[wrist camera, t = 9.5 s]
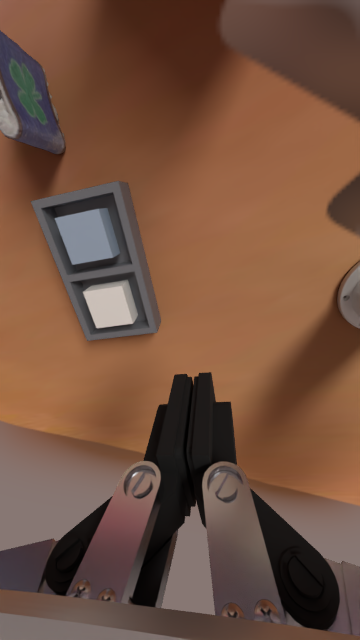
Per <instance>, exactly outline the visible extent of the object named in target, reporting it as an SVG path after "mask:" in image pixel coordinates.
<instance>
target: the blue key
mask: <svg viewBox="0 0 360 640" xmlns="http://www.w3.org/2000/svg"><path fill="white" fill-rule="evenodd" d="M55 220H56V223H57V226H58V228H59V231H60V234H61V236H62V239H63V242H64V244H65V247H66V249H67V252H68V255H69V257H70V260H71V263H72V265H74V264H80V263H85V262H91V261H97V260H102V259H108V258H113V257H115V256H117V255H118V254H120V251H119V247H118V244H117V240H116V237H115V233H114V230H113V226H112V223H111V219H110V216H109V212H108V209H107V208H101V209H95V210H90V211H85V212H81V213H76V214H72V215H67V216H62V217H58V218H55Z"/></svg>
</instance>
